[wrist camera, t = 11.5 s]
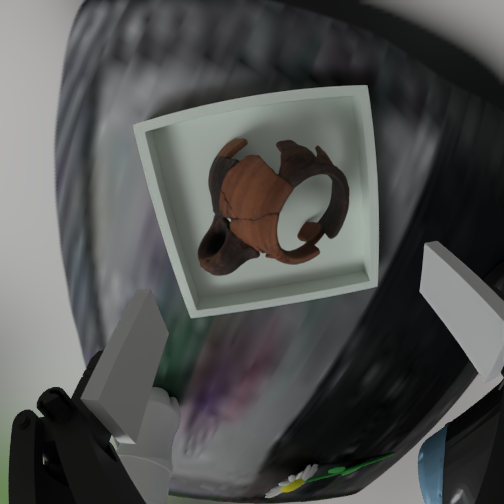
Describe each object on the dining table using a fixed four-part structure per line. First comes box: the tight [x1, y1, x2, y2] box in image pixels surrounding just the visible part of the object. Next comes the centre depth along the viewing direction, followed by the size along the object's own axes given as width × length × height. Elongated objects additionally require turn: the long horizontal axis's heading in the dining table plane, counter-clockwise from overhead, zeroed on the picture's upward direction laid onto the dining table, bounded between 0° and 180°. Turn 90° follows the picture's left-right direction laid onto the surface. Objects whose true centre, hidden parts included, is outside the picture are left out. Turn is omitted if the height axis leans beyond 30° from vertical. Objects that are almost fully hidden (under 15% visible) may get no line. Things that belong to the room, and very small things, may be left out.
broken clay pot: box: [198, 138, 350, 276], centre depth 22 cm, size 12×10×8 cm
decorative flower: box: [265, 452, 394, 498], centre depth 48 cm, size 13×5×30 cm
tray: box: [133, 85, 379, 318], centre depth 24 cm, size 18×18×2 cm
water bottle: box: [116, 387, 180, 504], centre depth 25 cm, size 7×7×25 cm
